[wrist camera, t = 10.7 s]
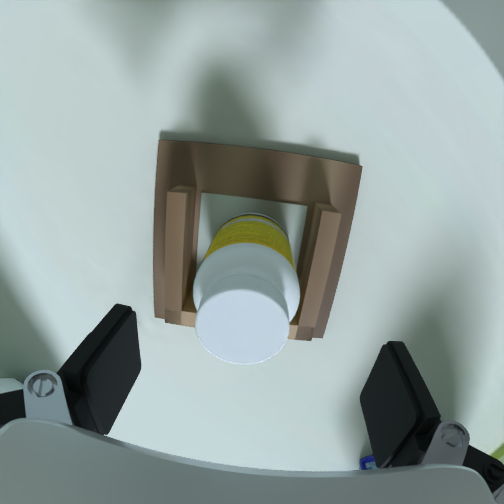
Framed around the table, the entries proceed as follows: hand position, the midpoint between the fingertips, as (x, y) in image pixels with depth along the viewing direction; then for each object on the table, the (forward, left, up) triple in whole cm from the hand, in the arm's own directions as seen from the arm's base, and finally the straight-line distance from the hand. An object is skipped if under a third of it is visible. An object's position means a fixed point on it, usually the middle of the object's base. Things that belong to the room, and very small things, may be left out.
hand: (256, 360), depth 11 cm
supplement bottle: (+1, 0, -12) cm, 12 cm away
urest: (+1, 0, -13) cm, 12 cm away
